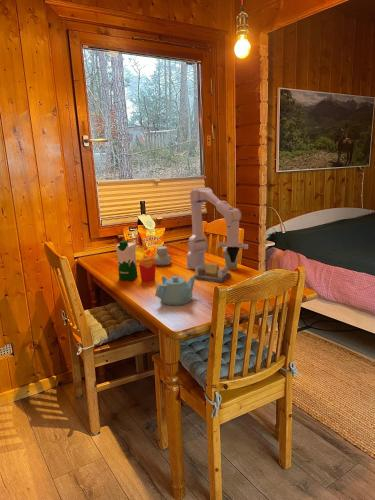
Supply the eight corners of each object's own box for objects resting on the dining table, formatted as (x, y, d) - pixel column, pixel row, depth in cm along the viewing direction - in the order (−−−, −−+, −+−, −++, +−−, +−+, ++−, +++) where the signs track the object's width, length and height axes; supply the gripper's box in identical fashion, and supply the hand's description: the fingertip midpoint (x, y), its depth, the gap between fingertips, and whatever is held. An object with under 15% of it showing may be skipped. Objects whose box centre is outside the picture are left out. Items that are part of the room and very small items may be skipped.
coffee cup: (238, 270, 194) (238, 249, 191) (222, 270, 196) (222, 248, 192) (239, 266, 202) (239, 245, 199) (224, 265, 204) (224, 244, 201)
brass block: (205, 275, 185) (205, 264, 183) (208, 273, 188) (208, 262, 186) (216, 277, 182) (216, 265, 180) (219, 275, 185) (218, 263, 183)
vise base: (192, 278, 184) (192, 268, 183) (202, 272, 193) (202, 262, 192) (222, 283, 177) (221, 272, 175) (230, 276, 186) (230, 265, 184)
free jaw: (217, 278, 179) (217, 270, 178) (224, 273, 185) (224, 266, 184) (221, 278, 178) (221, 270, 177) (227, 274, 184) (227, 266, 183)
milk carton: (116, 280, 186) (113, 242, 181) (125, 274, 194) (122, 238, 189) (132, 281, 183) (129, 243, 178) (140, 276, 191) (137, 238, 186)
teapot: (163, 293, 166) (161, 270, 164) (196, 294, 164) (195, 271, 161) (155, 307, 152) (153, 282, 149) (190, 308, 149) (189, 283, 147)
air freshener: (167, 267, 205) (167, 250, 202) (153, 267, 206) (152, 250, 204) (172, 261, 215) (171, 245, 213) (158, 261, 217) (157, 245, 214)
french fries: (141, 283, 180) (139, 259, 177) (139, 280, 184) (138, 257, 181) (158, 280, 183) (156, 257, 180) (155, 278, 187) (154, 255, 184)
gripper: (215, 235, 174) (216, 262, 177) (244, 237, 167) (244, 265, 170) (221, 232, 180) (222, 258, 183) (249, 234, 173) (249, 261, 176)
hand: (233, 262), depth 177 cm, fingers closed
